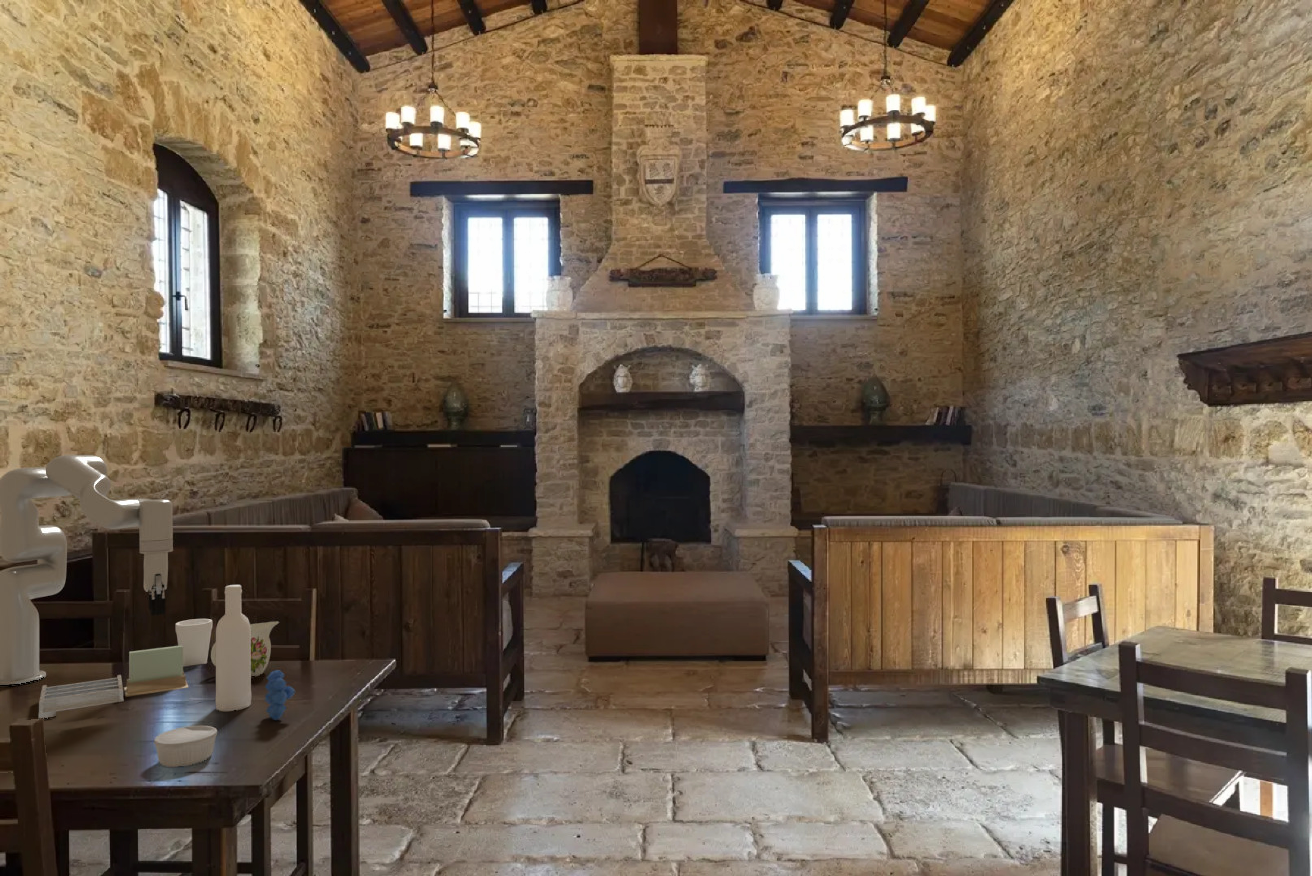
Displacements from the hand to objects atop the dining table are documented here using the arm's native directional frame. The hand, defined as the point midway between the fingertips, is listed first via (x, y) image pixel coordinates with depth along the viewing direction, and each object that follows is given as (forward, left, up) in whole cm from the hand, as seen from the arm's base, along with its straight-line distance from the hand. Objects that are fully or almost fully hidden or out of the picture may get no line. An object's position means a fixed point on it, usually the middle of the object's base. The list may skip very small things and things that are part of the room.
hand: (156, 611), depth 217 cm
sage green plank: (0, 0, -20) cm, 20 cm away
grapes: (+42, +23, -22) cm, 52 cm away
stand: (0, 0, -21) cm, 21 cm away
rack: (0, -16, -21) cm, 27 cm away
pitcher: (-5, +22, -22) cm, 31 cm away
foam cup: (-25, +11, -22) cm, 35 cm away
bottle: (+25, +15, -22) cm, 36 cm away
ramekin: (+58, +2, -22) cm, 62 cm away
